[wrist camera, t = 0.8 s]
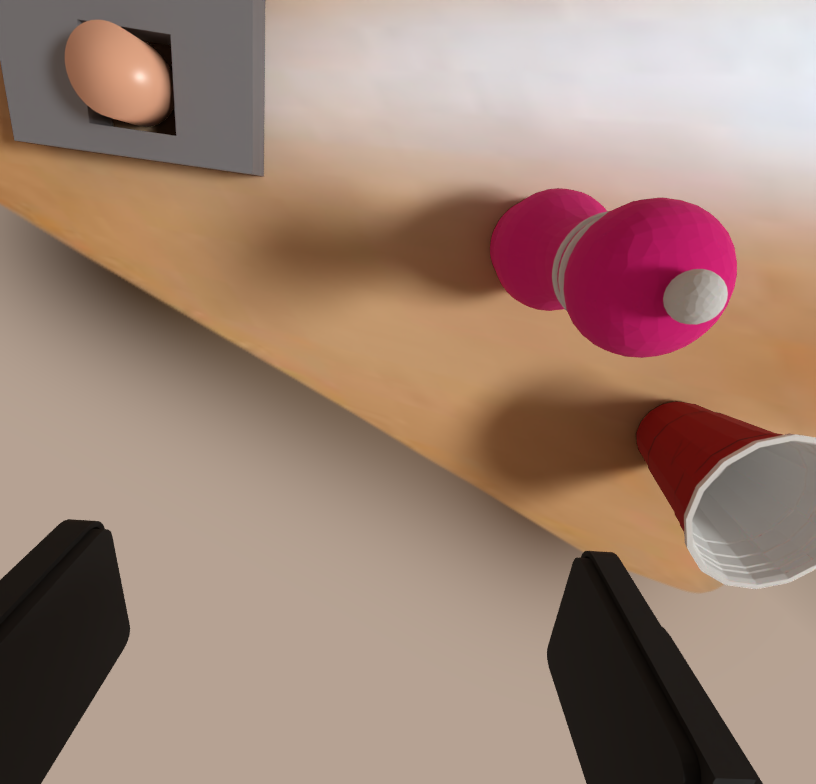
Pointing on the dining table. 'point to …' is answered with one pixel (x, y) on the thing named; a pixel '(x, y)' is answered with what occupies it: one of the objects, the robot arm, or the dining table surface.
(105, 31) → the terracotta button
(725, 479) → the plastic cup
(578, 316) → the pepper mill
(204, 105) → the button panel
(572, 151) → the dining table surface
